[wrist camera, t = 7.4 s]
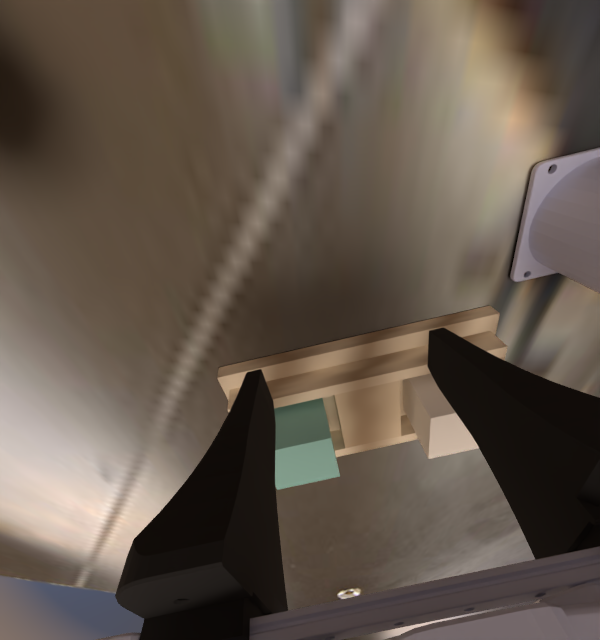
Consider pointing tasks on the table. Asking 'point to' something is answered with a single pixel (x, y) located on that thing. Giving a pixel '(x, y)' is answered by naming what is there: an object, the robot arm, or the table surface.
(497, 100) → the table surface
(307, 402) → the teal block
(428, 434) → the cream block
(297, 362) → the assembly board
